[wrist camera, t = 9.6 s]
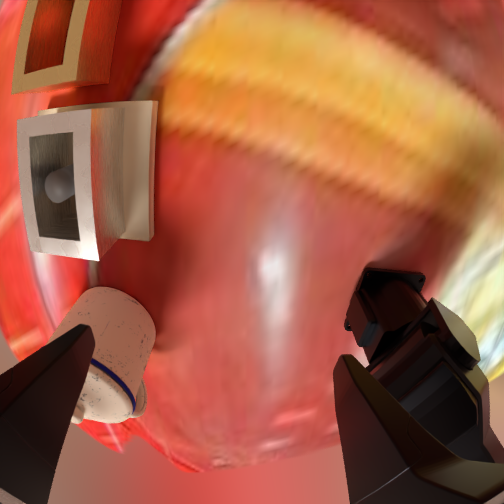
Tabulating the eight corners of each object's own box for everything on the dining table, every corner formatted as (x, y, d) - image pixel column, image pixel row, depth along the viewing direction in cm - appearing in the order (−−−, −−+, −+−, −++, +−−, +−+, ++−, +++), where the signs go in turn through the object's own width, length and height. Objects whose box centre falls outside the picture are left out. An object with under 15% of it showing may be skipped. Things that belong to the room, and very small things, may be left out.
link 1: (64, -5, 12) (33, -18, 8) (128, -21, 12) (102, -43, 8) (47, 92, 16) (11, 94, 12) (109, 83, 16) (75, 80, 12)
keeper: (158, 100, 17) (128, 99, 12) (154, 234, 22) (130, 268, 17) (46, 109, 17) (3, 116, 12) (52, 224, 21) (18, 251, 17)
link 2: (56, 113, 16) (17, 119, 12) (124, 107, 16) (91, 109, 12) (62, 225, 20) (30, 250, 16) (125, 231, 20) (98, 261, 16)
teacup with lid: (61, 294, 25) (2, 377, 14) (127, 270, 23) (63, 374, 13) (123, 375, 30) (94, 458, 19) (189, 365, 28) (170, 465, 18)
